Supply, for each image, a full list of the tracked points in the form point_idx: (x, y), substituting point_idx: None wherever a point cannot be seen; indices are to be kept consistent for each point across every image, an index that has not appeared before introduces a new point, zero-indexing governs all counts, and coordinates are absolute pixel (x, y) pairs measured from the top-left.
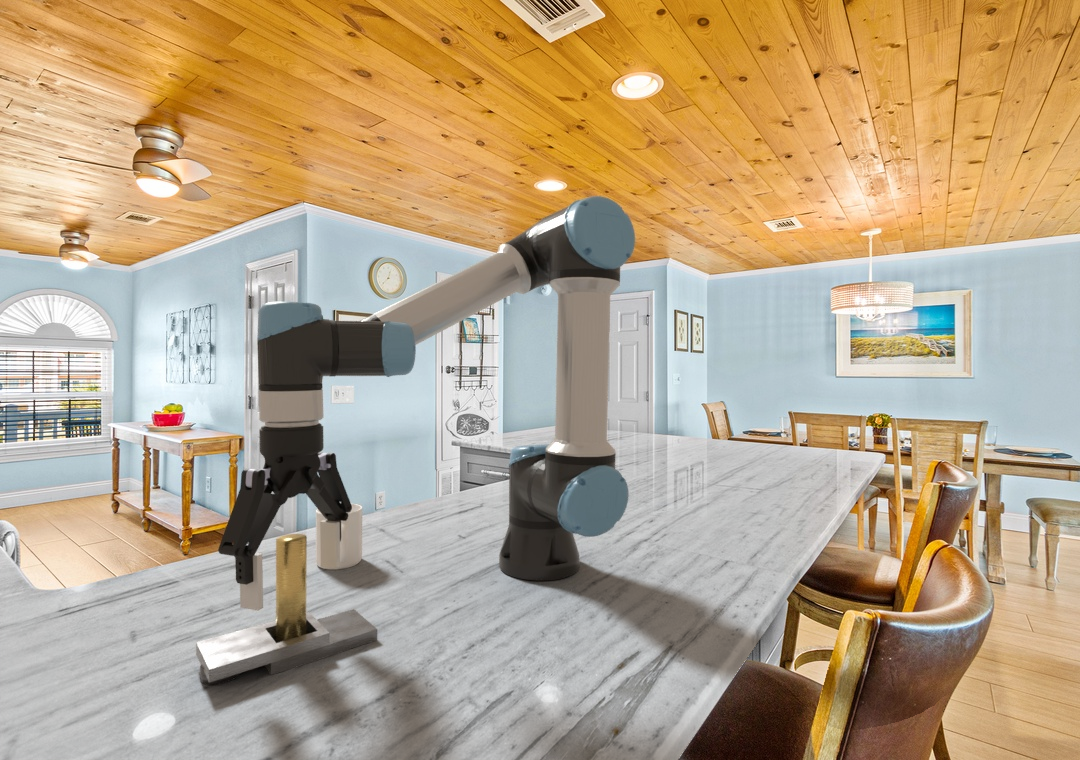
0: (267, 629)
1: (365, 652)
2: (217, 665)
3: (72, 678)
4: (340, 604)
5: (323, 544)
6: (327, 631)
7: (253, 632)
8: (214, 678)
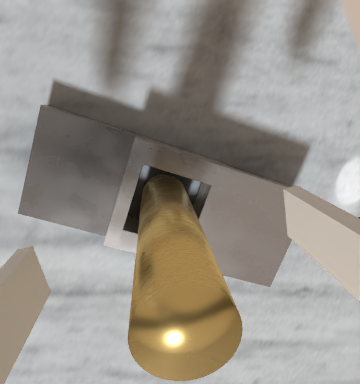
0: None
1: (91, 88)
2: None
3: (335, 346)
4: None
5: (21, 331)
6: (133, 145)
7: None
8: None
